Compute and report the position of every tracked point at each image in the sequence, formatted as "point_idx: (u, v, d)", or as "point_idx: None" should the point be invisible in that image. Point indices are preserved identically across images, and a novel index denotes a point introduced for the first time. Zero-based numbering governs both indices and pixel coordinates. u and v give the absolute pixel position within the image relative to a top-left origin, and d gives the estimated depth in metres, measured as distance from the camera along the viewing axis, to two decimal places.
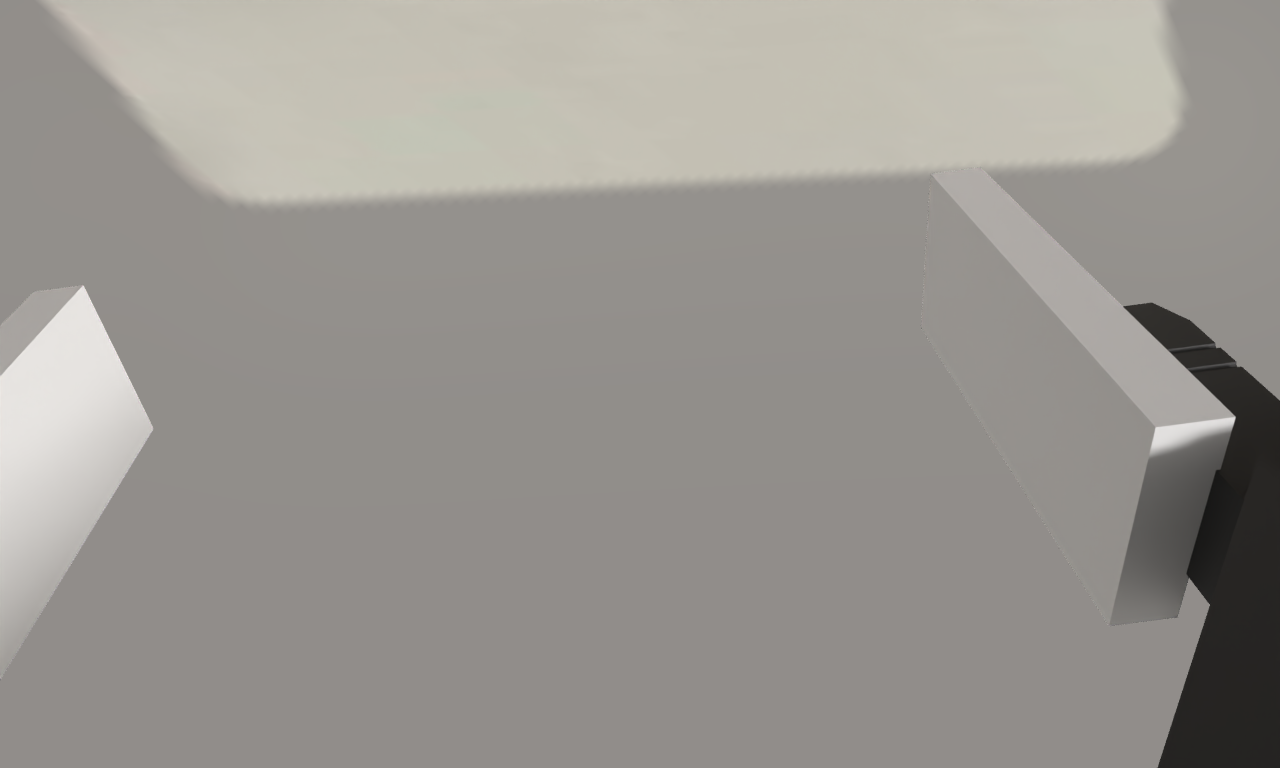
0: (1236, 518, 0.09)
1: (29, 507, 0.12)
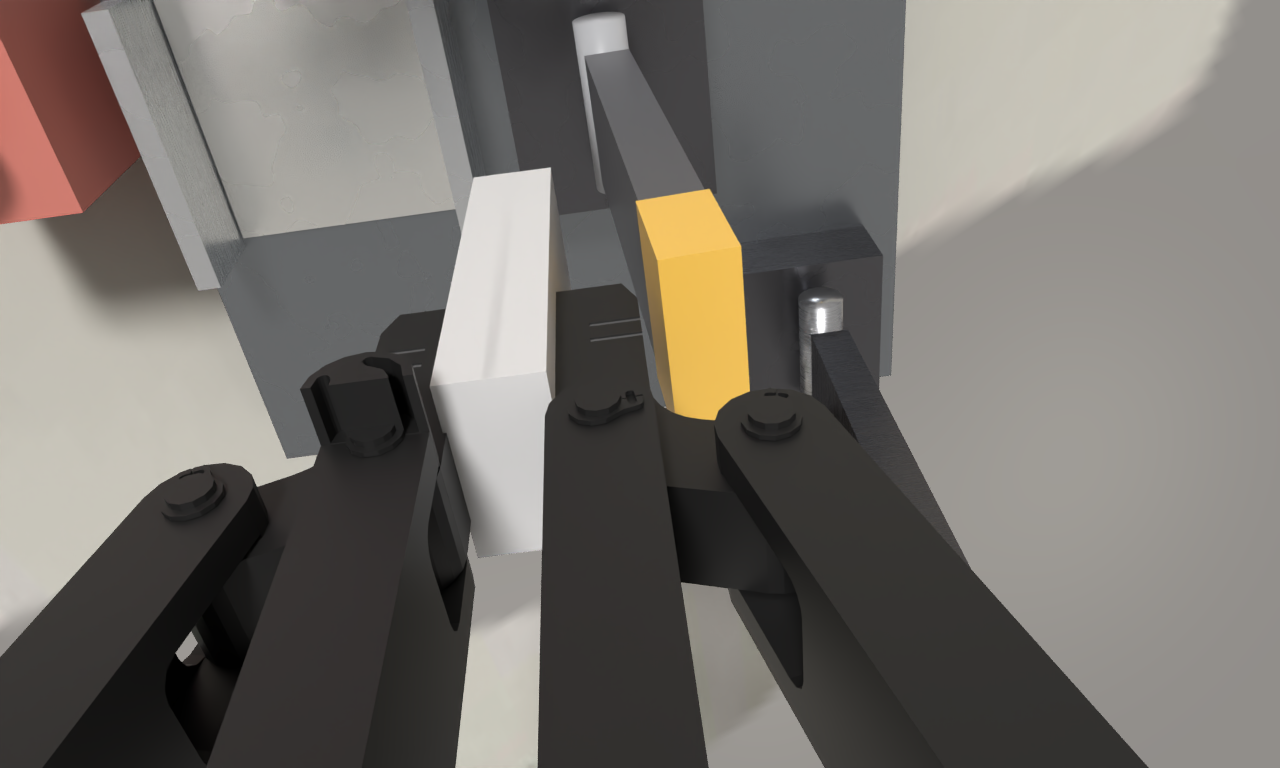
0: None
1: None
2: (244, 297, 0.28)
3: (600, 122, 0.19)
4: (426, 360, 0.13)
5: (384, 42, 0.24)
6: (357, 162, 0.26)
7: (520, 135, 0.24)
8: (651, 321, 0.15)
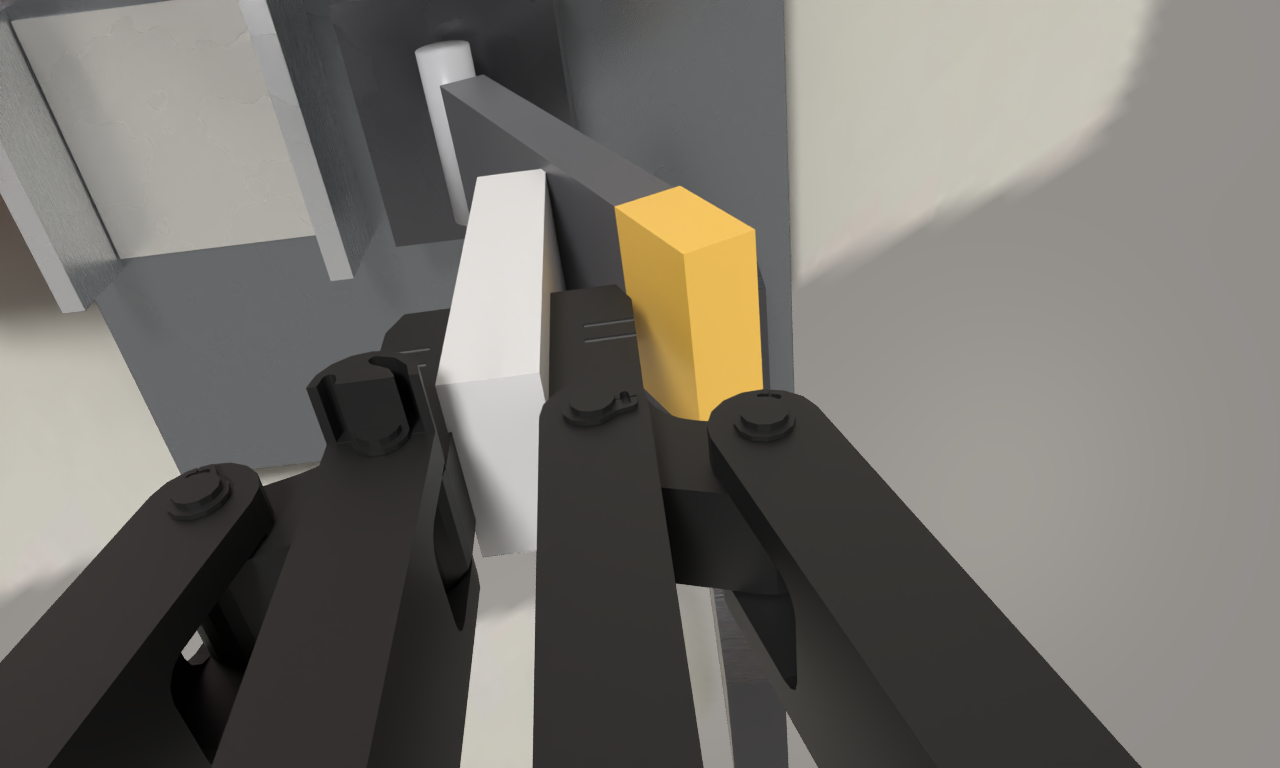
0: None
1: None
2: (126, 317, 0.28)
3: (484, 148, 0.19)
4: (431, 359, 0.13)
5: (248, 66, 0.24)
6: (230, 185, 0.26)
7: (380, 162, 0.23)
8: None
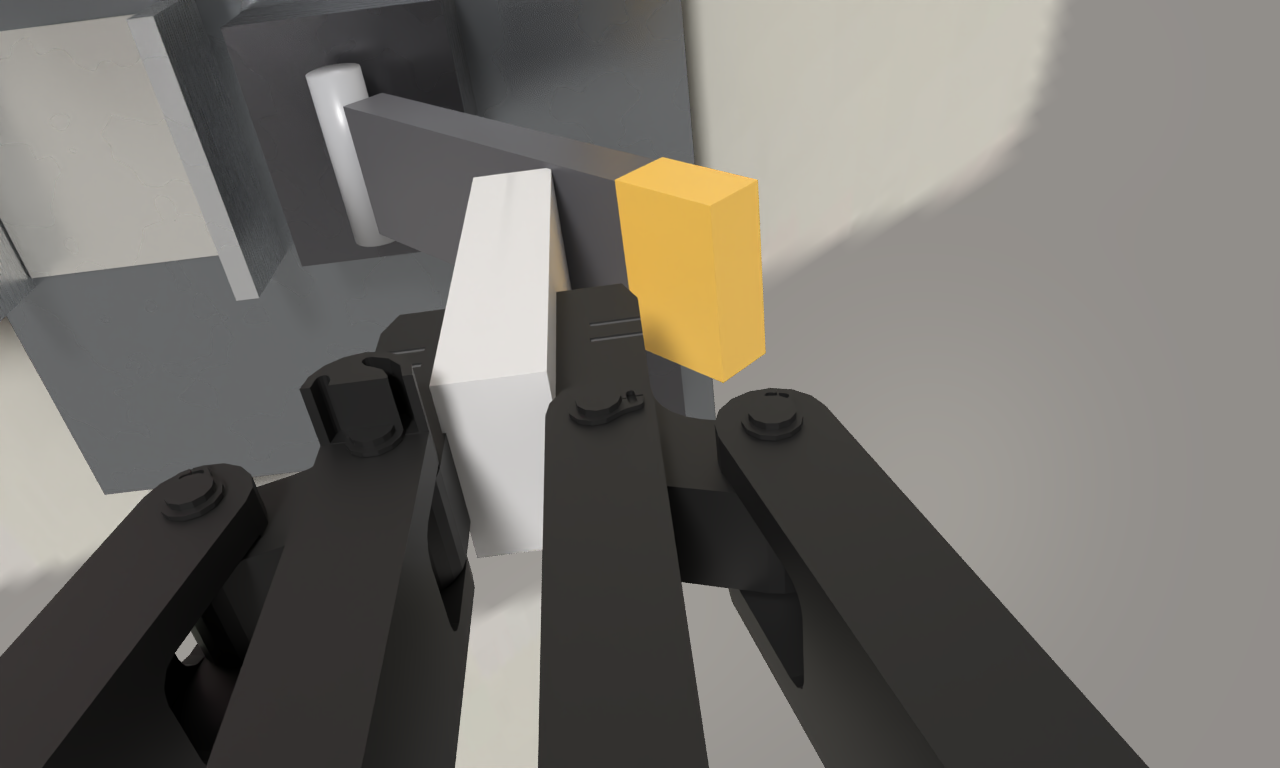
0: None
1: None
2: (41, 336, 0.28)
3: (412, 159, 0.19)
4: (426, 360, 0.13)
5: (151, 87, 0.24)
6: (138, 205, 0.26)
7: (281, 183, 0.23)
8: (635, 290, 0.16)
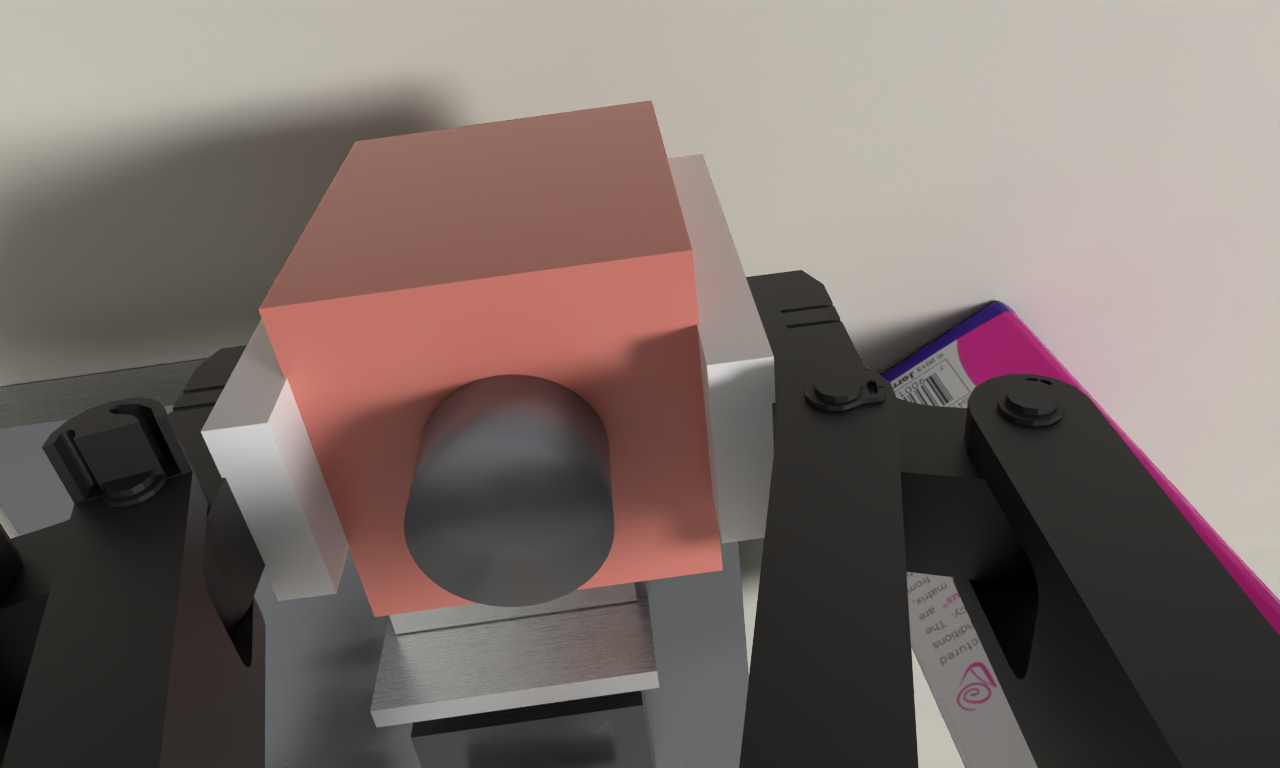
0: None
1: None
2: None
3: None
4: None
5: None
6: None
7: (499, 729, 0.24)
8: None
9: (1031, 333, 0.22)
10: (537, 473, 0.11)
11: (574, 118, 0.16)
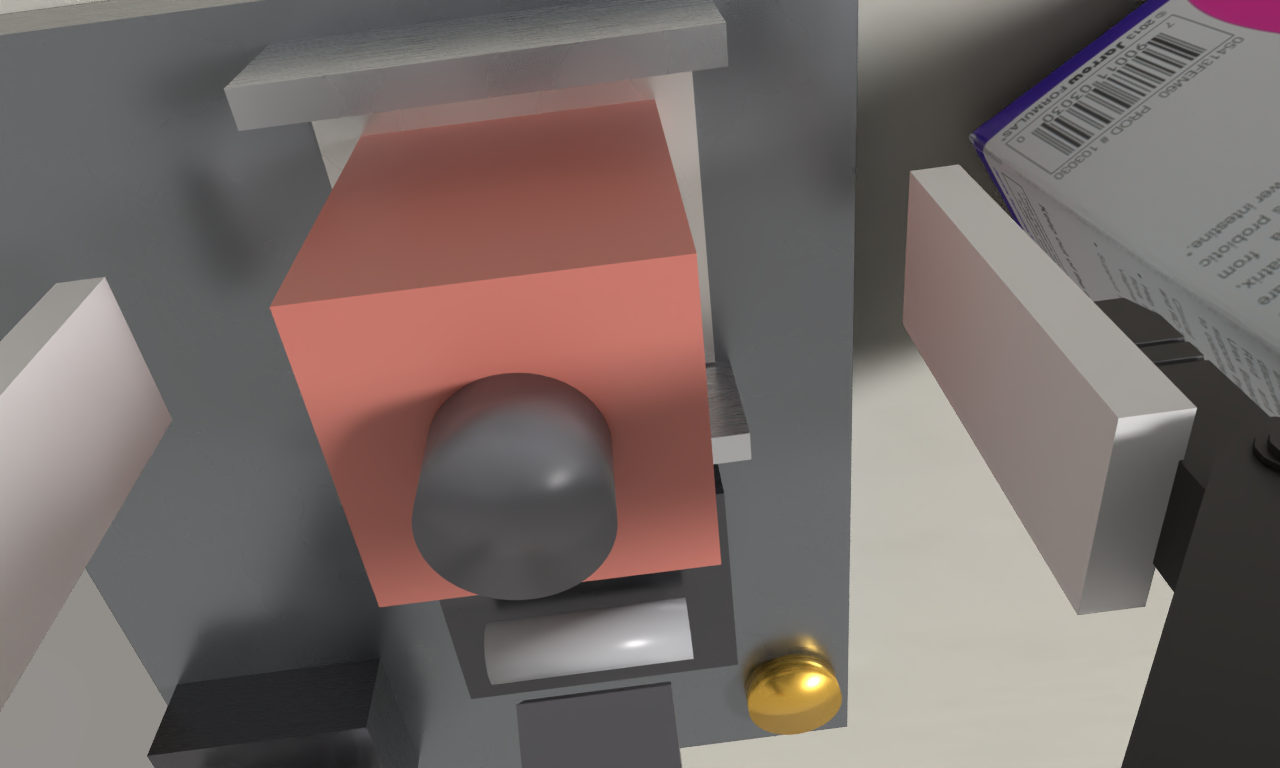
0: (1198, 509, 0.09)
1: (54, 495, 0.13)
2: (174, 56, 0.15)
3: None
4: None
5: None
6: None
7: None
8: None
9: None
10: (543, 471, 0.11)
11: (578, 115, 0.16)
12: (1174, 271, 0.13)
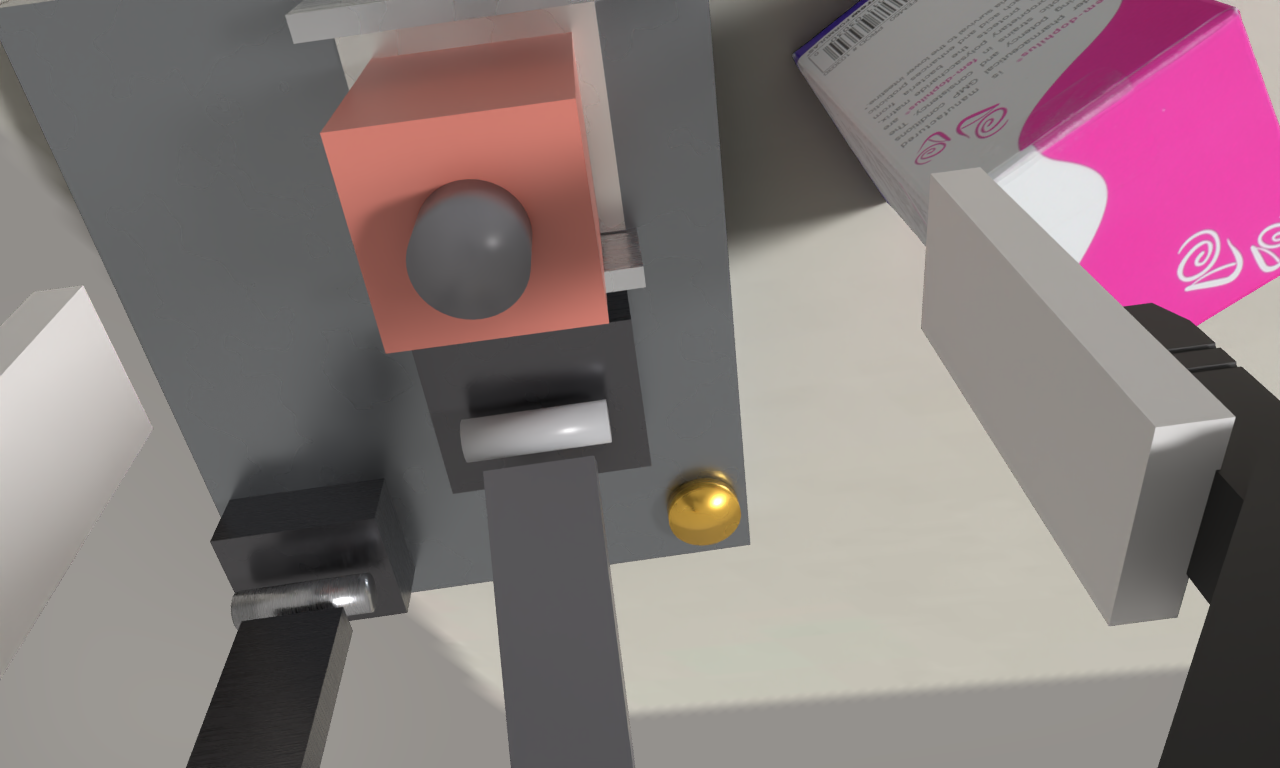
0: (1237, 518, 0.09)
1: (29, 507, 0.12)
2: (245, 3, 0.23)
3: (576, 547, 0.25)
4: None
5: None
6: None
7: (495, 344, 0.26)
8: None
9: None
10: (483, 224, 0.18)
11: (518, 42, 0.23)
12: (855, 119, 0.21)
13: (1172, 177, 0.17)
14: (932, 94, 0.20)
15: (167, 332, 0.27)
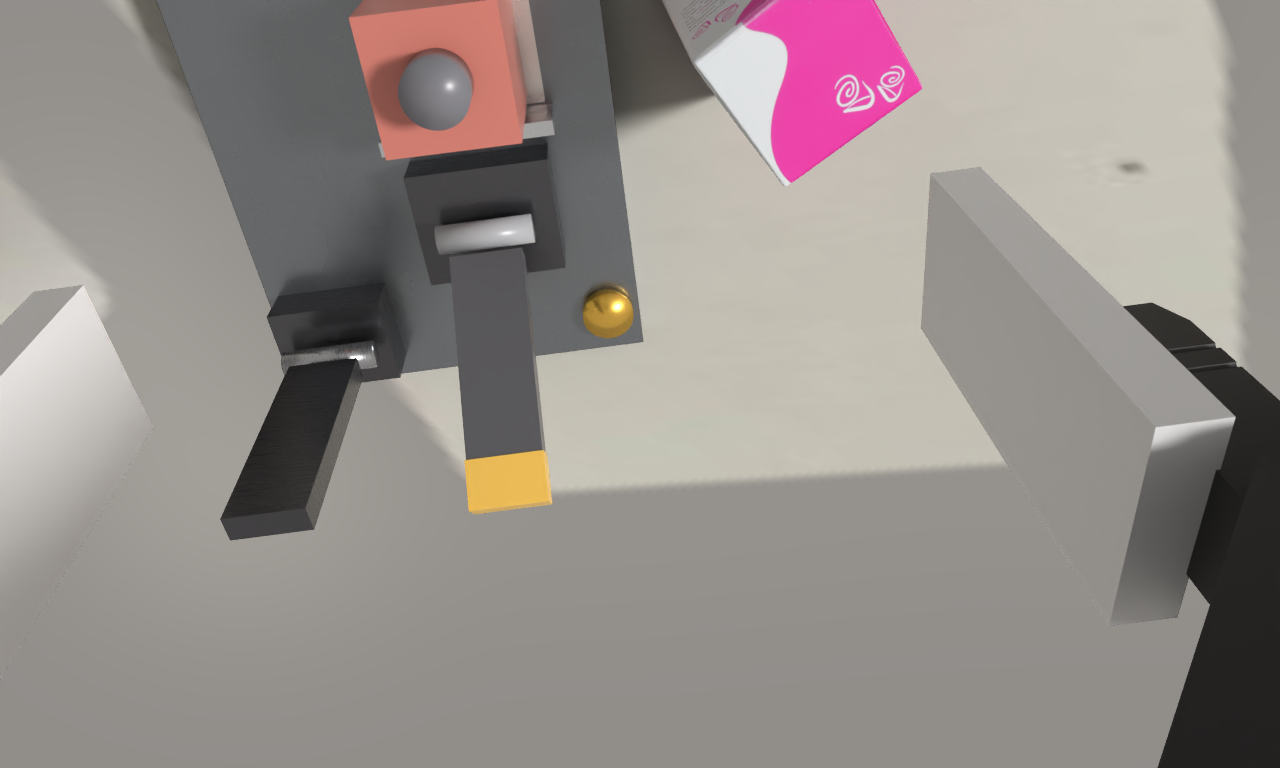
0: (1236, 518, 0.09)
1: (29, 507, 0.12)
2: None
3: (508, 304, 0.39)
4: None
5: None
6: None
7: (458, 175, 0.39)
8: (494, 460, 0.37)
9: None
10: (442, 70, 0.32)
11: None
12: (675, 19, 0.35)
13: (822, 42, 0.30)
14: (711, 1, 0.33)
15: (240, 169, 0.41)
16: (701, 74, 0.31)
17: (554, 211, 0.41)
